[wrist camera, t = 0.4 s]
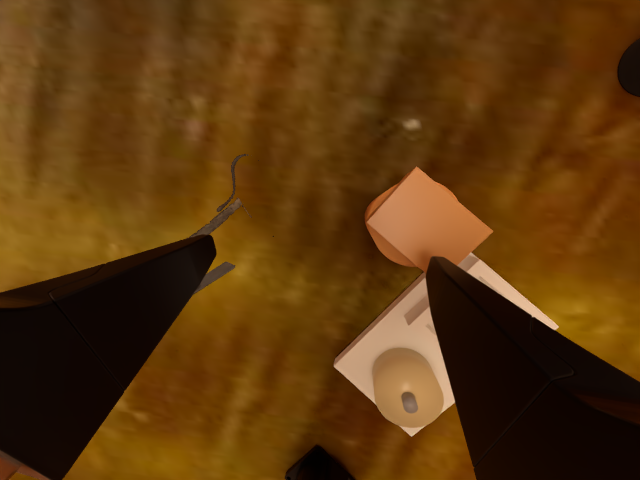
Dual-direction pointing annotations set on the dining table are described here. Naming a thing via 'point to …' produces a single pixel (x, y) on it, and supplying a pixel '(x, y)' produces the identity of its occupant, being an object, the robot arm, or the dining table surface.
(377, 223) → the orange square-topped peg
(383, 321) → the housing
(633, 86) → the drinking cup
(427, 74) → the dining table surface
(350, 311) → the dining table surface
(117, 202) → the dining table surface
